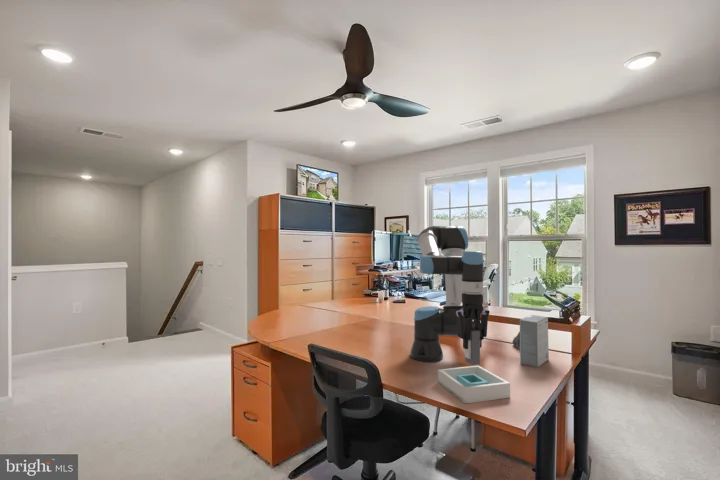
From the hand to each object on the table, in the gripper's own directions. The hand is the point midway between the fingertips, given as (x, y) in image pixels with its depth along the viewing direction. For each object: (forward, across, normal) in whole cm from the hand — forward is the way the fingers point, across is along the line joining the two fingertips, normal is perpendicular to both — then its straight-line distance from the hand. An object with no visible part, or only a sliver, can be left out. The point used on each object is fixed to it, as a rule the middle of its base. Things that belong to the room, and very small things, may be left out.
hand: (472, 357), depth 123 cm
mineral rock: (+12, +57, +38) cm, 69 cm away
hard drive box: (+12, +46, +20) cm, 52 cm away
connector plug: (+2, 0, 0) cm, 2 cm away
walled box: (+12, 0, 0) cm, 12 cm away
